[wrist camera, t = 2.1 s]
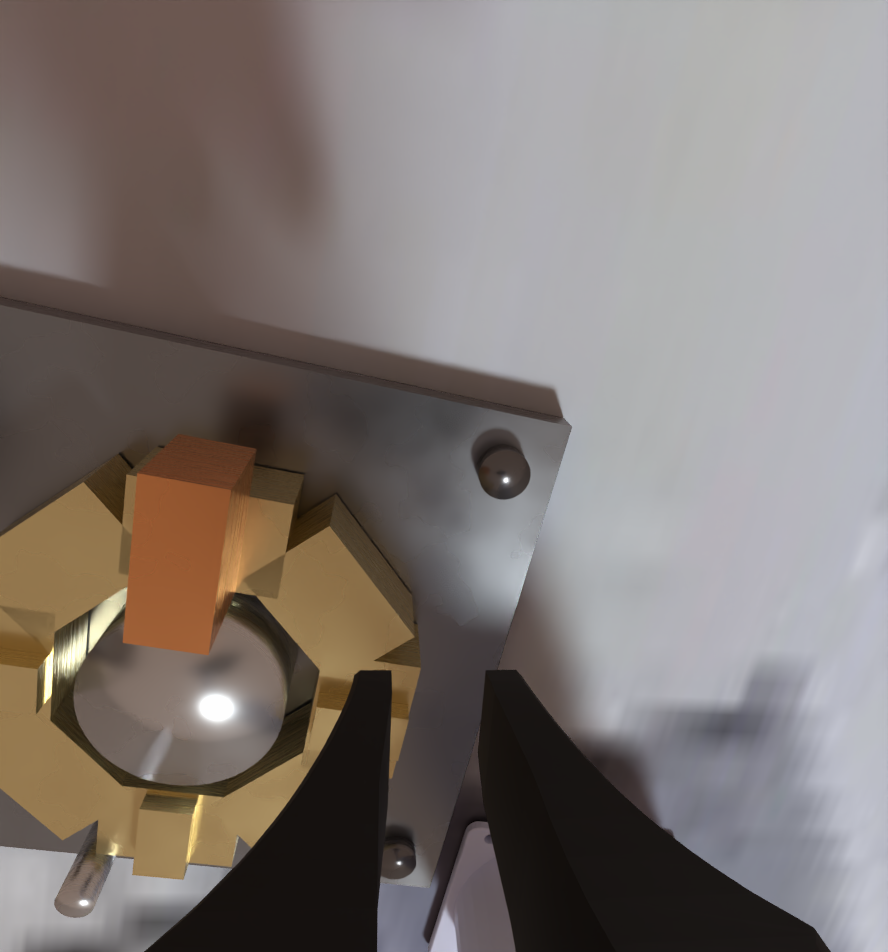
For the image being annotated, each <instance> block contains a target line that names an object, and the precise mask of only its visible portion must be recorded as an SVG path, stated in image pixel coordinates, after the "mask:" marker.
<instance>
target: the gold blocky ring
mask: <svg viewBox="0 0 888 952" xmlns="http://www.w3.org/2000/svg"><path fill="white" fill-rule="evenodd" d="M255 456H256V449H255V448H250V447H245V446H239V445H234V444H229V443H224V442H219V441H213V440H208V439H203V438H198V437H193V436H188V435H182V434H178V435H177V436H176V437H175V438H174V439H173V440H172V441H170V442H169V443H168V444H167V445H166V446H165V447H164V448H159V447H156V448H155V449H154V450H153V451H151V452H150V453H149V454H148V455H147V456H146V457H145V458H144V459H143V460H142V461H141V462H140V463H138V464H137V465H136V466H135V467H134V468H133V469H131V468H130V466H129V465H128V464H127V463H126V462H125V461H124V459H123V458H122V457H121V456H120V455H119V454H117V455H116V456H114V457H112V458H111V459H109V460H108V461H106V462H105V463H103V464H102V465H100V466H99V467H97V468H96V469H94V470H93V471H91V472H90V473H88V474H87V475H85V476H84V477H82V478H81V479H79V480H78V481H76V482H75V483H73V484H72V485H70V486H69V487H67V488H65V489H64V490H62V491H61V492H59V493H58V494H56V495H55V496H53V497H52V498H50V499H49V500H47V501H46V502H44V503H43V504H41V505H40V506H38V507H37V508H35V509H34V510H32V511H31V512H29V513H28V514H26V515H25V516H23V517H22V518H20V519H18V520H17V521H15V522H14V523H12V524H11V525H9V526H8V527H6V528H5V529H4V530H2V531H1V532H0V789H2V790H3V791H4V792H5V793H6V794H8V795H9V796H10V797H11V798H12V799H13V800H15V801H16V802H17V803H18V804H19V805H21V806H22V807H23V808H24V809H25V810H27V811H28V812H29V813H30V814H31V815H33V816H34V817H35V818H36V819H37V820H39V821H40V822H41V823H42V824H43V825H45V826H46V827H47V828H48V829H49V830H51V831H52V832H53V833H54V834H55V835H57V836H58V837H59V838H60V839H61V840H64V839H66V838H68V837H69V836H71V835H73V834H74V833H76V832H78V831H80V830H81V829H83V828H85V827H87V826H88V825H90V824H92V823H93V822H95V821H97V820H98V831H97V844H96V854H105V855H116V856H126V857H134V864H133V874H132V875H139V876H150V877H161V878H171V879H182V880H183V879H184V876H185V873H186V870H187V867H188V864H189V863H197V864H208V865H218V866H228V867H232V863H233V859H234V855H235V851H236V847H237V843H238V839H239V836H240V837H241V838H242V839H243V840H244V841H245V842H246V843H247V844H248V845H249V846H250V847H251V848H252V847H253V846H254V845H255V843H256V842H257V841H258V840H259V838H260V837H261V836H262V835H263V834H264V832H265V831H266V830H267V829H268V827H269V826H270V825H271V824H272V823H273V821H274V820H275V819H276V817H277V816H278V815H279V813H280V812H281V811H282V809H283V808H284V807H285V805H286V804H287V803H288V801H289V800H290V799H291V797H292V796H293V794H294V793H295V791H296V790H297V788H298V787H299V785H300V784H301V783H302V781H303V780H304V778H305V776H306V775H307V773H308V771H309V770H310V768H311V767H312V765H313V763H314V762H315V760H316V758H317V757H318V755H319V753H320V752H321V750H322V748H323V747H324V745H325V743H326V741H327V739H328V737H329V735H330V733H331V731H332V730H333V728H334V726H335V724H336V722H337V720H338V718H339V716H340V714H341V711H342V709H343V707H344V705H345V702H346V700H347V697H348V695H349V692H350V689H351V686H352V683H353V678H354V675H355V674H356V673H357V672H359V671H360V670H391V673H392V708H391V736H390V763H389V778H391V779H392V776H393V772H394V769H395V765H396V761H398V759H399V755H400V751H401V748H402V744H403V740H404V736H405V733H406V729H407V725H408V721H409V712H410V708H411V704H412V700H413V697H414V693H415V689H416V685H417V682H418V678H419V674H420V670H421V660H420V647H419V633H418V624H414V619H413V603H412V595H411V594H410V592H409V591H408V590H407V588H406V587H405V586H404V584H403V583H402V582H401V580H400V579H399V578H398V576H397V575H396V574H395V572H394V571H393V570H392V568H391V567H390V566H389V564H388V563H387V562H386V560H385V559H384V558H383V556H382V555H381V554H380V552H379V551H378V550H377V548H376V547H375V546H374V544H373V543H372V542H371V540H370V539H369V538H368V536H367V535H366V534H365V532H364V531H363V530H362V528H361V527H360V526H359V524H358V523H357V521H356V520H355V519H354V517H353V516H352V515H351V513H350V512H349V511H348V509H347V508H346V507H345V505H344V504H343V503H342V501H341V500H340V499H339V497H338V496H337V495H336V494H335V495H334V496H332V497H330V498H329V499H327V500H326V501H324V502H322V503H321V504H319V505H317V506H316V507H314V508H313V509H311V510H309V511H308V512H306V513H305V514H303V515H301V516H300V517H298V518H297V514H298V509H299V503H300V497H301V491H302V486H303V480H304V475H302V474H297V473H292V472H286V471H281V470H276V469H271V468H265V467H260V466H255V465H254V463H255ZM125 587H127V598H126V609H125V621H124V632H123V643H127V644H134V645H141V646H148V647H155V648H161V649H168V650H175V651H182V652H189V653H196V654H203V655H209V653H210V650H211V648H212V646H213V643H214V641H215V639H216V636H217V634H218V632H219V629H220V627H221V625H222V622H223V620H224V618H225V615H226V613H227V611H228V608H229V606H230V604H231V601H232V599H233V597H234V594H235V592H236V593H243V594H249V595H255V596H257V598H258V599H259V600H260V601H261V602H262V603H263V605H264V606H265V607H266V608H267V609H268V610H269V612H270V613H271V614H272V615H273V616H274V617H275V619H276V620H277V621H278V622H279V623H280V624H281V626H282V627H283V628H284V629H285V630H286V631H287V633H288V634H289V635H290V636H291V637H292V638H293V640H294V641H295V642H296V643H297V644H298V645H299V647H300V648H301V649H302V650H303V651H304V652H305V654H306V655H307V656H308V657H309V658H310V659H311V661H312V662H313V663H314V664H315V665H316V666H317V668H318V673H317V678H316V683H315V688H314V693H313V698H312V702H311V703H309V704H307V705H306V706H304V707H302V708H300V709H299V710H297V711H295V712H294V713H292V714H290V715H288V716H287V717H285V718H283V722H282V726H281V730H280V732H279V734H278V737H277V739H276V741H275V742H274V744H273V745H272V747H271V748H270V750H269V751H268V752H267V753H266V754H265V755H264V756H263V757H262V758H261V759H260V760H259V761H258V762H257V763H255V764H254V765H253V766H251V767H250V768H248V769H247V770H245V771H244V772H241V773H239V774H237V775H235V776H233V777H231V778H228V779H225V780H222V781H218V782H214V783H210V784H202V785H189V786H182V785H169V784H163V783H157V782H154V781H150V780H146V779H143V778H140V777H138V776H135V775H133V774H131V773H129V772H127V771H125V770H123V769H121V768H119V767H118V766H116V765H115V764H113V763H111V762H110V761H109V760H108V759H106V758H105V757H104V756H103V755H101V754H100V753H99V752H98V751H97V749H96V748H95V747H94V746H93V745H92V744H91V743H90V741H89V740H88V739H87V737H86V736H85V734H84V732H83V730H82V729H81V727H80V725H79V722H78V719H77V717H76V713H75V708H74V698H73V691H74V685H75V680H76V677H77V674H78V671H79V669H80V667H81V665H82V663H83V661H84V660H85V658H86V643H87V628H88V613H89V610H90V609H92V608H94V607H95V606H97V605H98V604H100V603H101V602H103V601H105V600H106V599H108V598H109V597H111V596H113V595H114V594H116V593H117V592H119V591H121V590H122V589H124V588H125Z"/></svg>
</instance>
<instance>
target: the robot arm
mask: <svg viewBox="0 0 888 952" xmlns="http://www.w3.org/2000/svg"><path fill="white" fill-rule="evenodd" d="M391 708H392V673H391V670H360V671H359V672H357V673H356V674H355V675H354V678H353V683H352V686H351V689H350V692H349V695H348V697H347V700H346V702H345V705H344V707H343V709H342V711H341V714H340V716H339V718H338V720H337V722H336V724H335V726H334V728H333V730H332V731H331V733H330V735H329V737H328V739H327V741H326V743H325V745H324V747H323V748H322V750H321V752H320V753H319V755H318V757H317V758H316V760H315V762H314V763H313V765H312V767H311V768H310V770H309V771H308V773H307V775H306V776H305V778H304V780H303V781H302V783H301V784H300V785H299V787H298V788H297V790H296V791H295V793H294V794H293V796H292V797H291V799H290V800H289V801H288V803H287V804H286V805H285V807H284V808H283V809H282V811H281V812H280V813H279V815H278V816H277V817H276V819H275V820H274V821H273V823H272V824H271V825H270V826H269V827H268V829H267V830H266V831H265V832H264V834H263V835H262V836H261V837H260V838H259V840H258V841H257V842H256V843H255V845H254V846H253V847H252V848H251V849H250V850H249V851H248V853H247V854H246V855H245V856H244V857H243V858H242V859H241V861H240V862H239V863H238V864H237V865H236V866H235V867H234V868H233V869H232V870H231V871H230V872H229V873H228V874H227V875H226V876H225V877H224V878H223V879H222V880H221V881H220V882H219V883H218V884H217V885H216V886H215V887H214V888H213V889H212V890H211V891H210V893H209V894H208V895H207V896H206V897H205V898H204V899H203V900H202V901H201V902H200V903H199V904H198V905H196V906H195V907H194V908H193V909H192V910H191V911H190V912H189V913H188V914H187V915H186V916H185V917H183V918H182V919H181V920H180V921H179V922H178V923H177V924H175V925H174V926H173V927H172V928H171V929H170V930H169V931H167V932H166V933H165V934H164V935H163V936H162V937H161V938H159V939H158V940H157V941H156V942H155V943H154V944H153V945H151V946H150V947H149V948H148V949H147V950H146V951H144V952H377V908H378V898H379V888H380V878H381V869H382V859H383V849H384V839H385V829H386V820H387V810H388V791H389V763H390V736H391ZM478 758H479V768H480V777H481V786H482V795H483V803H484V808H485V812H486V817H487V821H488V822H481V821H476V822H473V823H471V824H470V825H468V827H467V828H466V830H465V834H464V837H463V840H462V843H461V846H460V849H459V852H458V855H457V858H456V862H455V865H454V868H453V871H452V874H451V877H450V880H449V883H448V887H447V890H446V893H445V896H444V899H443V902H442V905H441V908H440V911H439V915H438V918H437V921H436V924H435V927H434V930H433V933H432V936H431V940H430V943H429V946H428V952H831V951H830V950H829V949H828V947H827V946H826V944H825V943H824V942H823V940H822V939H821V937H820V936H819V934H818V933H817V931H816V930H815V929H814V928H813V927H812V926H810V925H808V924H807V923H805V922H803V921H801V920H800V919H798V918H796V917H794V916H793V915H791V914H789V913H787V912H786V911H784V910H782V909H780V908H779V907H777V906H775V905H773V904H772V903H770V902H768V901H766V900H765V899H763V898H761V897H759V896H758V895H756V894H754V893H752V892H751V891H749V890H748V889H746V888H744V887H743V886H741V885H740V884H738V883H737V882H735V881H734V880H732V879H731V878H729V877H728V876H726V875H725V874H723V873H722V872H720V871H719V870H717V869H716V868H714V867H713V866H711V865H710V864H708V863H707V862H706V861H704V860H703V859H701V858H700V857H698V856H697V855H696V854H694V853H693V852H691V851H690V850H689V849H687V848H686V847H685V846H684V845H682V844H681V843H680V842H678V841H677V840H676V839H674V838H673V837H672V836H671V835H669V834H668V833H667V832H665V831H664V830H663V829H661V828H660V827H659V826H658V825H657V824H655V823H654V822H653V821H652V820H651V819H649V818H648V817H647V816H646V815H645V814H643V813H642V812H641V811H640V810H639V809H638V808H637V807H636V806H634V805H633V804H632V803H631V802H630V801H629V800H628V799H627V798H626V797H624V796H623V795H622V794H621V793H620V792H619V791H618V790H617V789H616V788H615V787H614V786H613V785H612V784H611V783H610V782H609V781H608V780H607V779H606V778H605V777H604V776H603V775H602V774H601V773H600V772H599V771H598V770H597V769H596V768H595V767H594V765H593V764H592V763H591V762H590V761H589V760H588V759H587V758H586V757H585V756H584V755H583V753H582V752H581V751H580V750H579V749H578V748H577V747H576V745H575V744H574V743H573V742H572V741H571V740H570V738H569V737H568V736H567V735H566V734H565V732H564V731H563V730H562V729H561V728H560V726H559V725H558V724H557V723H556V721H555V720H554V719H553V718H552V716H551V715H550V714H549V713H548V711H547V710H546V709H545V707H544V706H543V705H542V703H541V702H540V701H539V699H538V698H537V697H536V695H535V694H534V693H533V691H532V690H531V689H530V687H529V686H528V684H527V683H526V682H525V680H524V679H523V678H522V676H521V675H520V674H519V673H518V672H517V671H516V670H486V672H485V682H484V693H483V704H482V714H481V725H480V736H479V746H478ZM487 835H490V836H487Z"/></svg>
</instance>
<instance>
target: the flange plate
mask: <svg viewBox="0 0 888 952" xmlns="http://www.w3.org/2000/svg"><path fill="white" fill-rule="evenodd" d="M571 428H572V426H571V425H570V424H569V423H568V422H567V421H566V420H565V419H564V418H560V417H555V416H551V415H546V414H542V413H537V412H532V411H528V410H523V409H518V408H514V407H509V406H504V405H500V404H495V403H490V402H486V401H481V400H476V399H472V398H467V397H462V396H458V395H453V394H448V393H444V392H439V391H434V390H430V389H425V388H420V387H416V386H411V385H406V384H402V383H397V382H392V381H388V380H383V379H378V378H374V377H369V376H364V375H360V374H355V373H351V372H346V371H341V370H337V369H332V368H327V367H323V366H318V365H313V364H309V363H304V362H299V361H295V360H290V359H285V358H281V357H276V356H271V355H267V354H262V353H257V352H253V351H248V350H243V349H239V348H234V347H229V346H225V345H220V344H215V343H211V342H206V341H201V340H197V339H192V338H187V337H183V336H178V335H173V334H169V333H164V332H160V331H155V330H150V329H146V328H141V327H136V326H132V325H127V324H122V323H118V322H113V321H108V320H104V319H99V318H94V317H90V316H85V315H80V314H76V313H71V312H66V311H62V310H57V309H52V308H48V307H43V306H38V305H34V304H29V303H24V302H20V301H15V300H10V299H6V298H1V297H0V532H1V531H2V530H4V529H5V528H6V527H8V526H9V525H11V524H12V523H14V522H15V521H17V520H18V519H20V518H22V517H23V516H25V515H26V514H28V513H29V512H31V511H32V510H34V509H35V508H37V507H38V506H40V505H41V504H43V503H44V502H46V501H47V500H49V499H50V498H52V497H53V496H55V495H56V494H58V493H59V492H61V491H62V490H64V489H65V488H67V487H69V486H70V485H72V484H73V483H75V482H76V481H78V480H79V479H81V478H82V477H84V476H85V475H87V474H88V473H90V472H91V471H93V470H94V469H96V468H97V467H99V466H100V465H102V464H103V463H105V462H106V461H108V460H109V459H111V458H112V457H114V456H116V455H117V454H119V455H120V456H121V457H122V458H123V459H124V461H125V462H126V463H127V464H128V465H129V466H130V468H131V469H133V468H134V467H135V466H136V465H137V464H138V463H140V462H141V461H142V460H143V459H144V458H145V457H146V456H147V455H148V454H149V453H150V452H151V451H153V450H154V449H155V448H156V447H159V448H164V447H165V446H166V445H167V444H168V443H169V442H170V441H172V440H173V439H174V438H175V437H176V436H177V435H178V434H182V435H188V436H193V437H198V438H203V439H208V440H213V441H219V442H224V443H229V444H234V445H239V446H245V447H250V448H255V449H256V456H255V463H254V465H255V466H260V467H265V468H271V469H276V470H281V471H286V472H292V473H297V474H302V475H304V480H303V486H302V491H301V497H300V503H299V509H298V514H297V518H298V517H300V516H301V515H303V514H305V513H306V512H308V511H309V510H311V509H313V508H314V507H316V506H317V505H319V504H321V503H322V502H324V501H326V500H327V499H329V498H330V497H332V496H334V495H335V494H336V495H337V496H338V497H339V499H340V500H341V501H342V503H343V504H344V505H345V507H346V508H347V509H348V511H349V512H350V513H351V515H352V516H353V517H354V519H355V520H356V521H357V523H358V524H359V526H360V527H361V528H362V530H363V531H364V532H365V534H366V535H367V536H368V538H369V539H370V540H371V542H372V543H373V544H374V546H375V547H376V548H377V550H378V551H379V552H380V554H381V555H382V556H383V558H384V559H385V560H386V562H387V563H388V564H389V566H390V567H391V568H392V570H393V571H394V572H395V574H396V575H397V576H398V578H399V579H400V580H401V582H402V583H403V584H404V586H405V587H406V588H407V590H408V591H409V592H410V594H411V595H412V603H413V619H414V624H418V633H419V647H420V660H421V670H420V674H419V678H418V682H417V685H416V689H415V693H414V697H413V700H412V704H411V708H410V712H409V721H408V725H407V729H406V733H405V736H404V740H403V744H402V748H401V751H400V755H399V759H398V761H396V765H395V769H394V772H393V776H392V779H391V778H389V791H388V810H387V820H386V829H385V839H384V849H383V859H382V869H381V878H380V883H385V884H396V885H406V886H416V887H426V888H430V885H431V882H432V879H433V875H434V872H435V869H436V866H437V862H438V859H439V856H440V853H441V849H442V846H443V843H444V840H445V836H446V833H447V830H448V827H449V823H450V820H451V817H452V814H453V811H454V807H455V804H456V801H457V798H458V794H459V791H460V788H461V785H462V781H463V778H464V775H465V772H466V768H467V765H468V762H469V759H470V755H471V752H472V749H473V746H474V743H475V739H476V736H477V733H478V730H479V726H480V723H481V714H482V704H483V693H484V682H485V672H486V670H497V668H498V665H499V662H500V658H501V655H502V652H503V649H504V645H505V642H506V639H507V636H508V632H509V629H510V626H511V623H512V619H513V616H514V613H515V610H516V607H517V603H518V600H519V597H520V594H521V590H522V587H523V584H524V581H525V577H526V574H527V571H528V568H529V564H530V561H531V558H532V555H533V552H534V548H535V545H536V542H537V539H538V535H539V532H540V529H541V526H542V522H543V519H544V516H545V513H546V509H547V506H548V503H549V500H550V496H551V493H552V490H553V487H554V484H555V480H556V477H557V474H558V471H559V467H560V464H561V461H562V458H563V454H564V451H565V448H566V445H567V441H568V438H569V435H570V432H571ZM126 598H127V587H125V588H124V589H122V590H121V591H119V592H117V593H116V594H114V595H113V596H111V597H109V598H108V599H106V600H105V601H103V602H101V603H100V604H98V605H97V606H95V607H94V608H92V609H90V610H89V613H88V628H87V643H86V658H85V660H84V661H83V663H82V665H81V667H80V669H79V671H78V674H77V677H76V680H75V685H74V691H73V698H74V708H75V713H76V717H77V719H78V722H79V725H80V727H81V729H82V730H83V732H84V734H85V736H86V737H87V739H88V740H89V741H90V743H91V744H92V745H93V746H94V747H95V748H96V749H97V751H98V752H99V753H100V754H101V755H103V756H104V757H105V758H106V759H108V760H109V761H110V762H111V763H113V764H115V765H116V766H118V767H119V768H121V769H123V770H125V771H127V772H129V773H131V774H133V775H135V776H138V777H140V778H143V779H146V780H150V781H154V782H157V783H163V784H169V785H182V786H189V785H202V784H210V783H214V782H218V781H222V780H225V779H228V778H231V777H233V776H235V775H237V774H239V773H241V772H244V771H245V770H247V769H248V768H250V767H251V766H253V765H254V764H255V763H257V762H258V761H259V760H260V759H261V758H262V757H263V756H264V755H265V754H266V753H267V752H268V751H269V750H270V748H271V747H272V745H273V744H274V742H275V741H276V739H277V737H278V734H279V732H280V730H281V726H282V722H283V718H285V717H287V716H288V715H290V714H292V713H294V712H295V711H297V710H299V709H300V708H302V707H304V706H306V705H307V704H309V703H311V702H312V698H313V693H314V688H315V683H316V678H317V673H318V668H317V666H316V665H315V664H314V663H313V662H312V661H311V659H310V658H309V657H308V656H307V655H306V654H305V652H304V651H303V650H302V649H301V648H300V647H299V645H298V644H297V643H296V642H295V641H294V640H293V638H292V637H291V636H290V635H289V634H288V633H287V631H286V630H285V629H284V628H283V627H282V626H281V624H280V623H279V622H278V621H277V620H276V619H275V617H274V616H273V615H272V614H271V613H270V612H269V610H268V609H267V608H266V607H265V606H264V605H263V603H262V602H261V601H260V600H259V599H258V598H257V596H255V595H249V594H243V593H236V592H235V594H234V597H233V599H232V601H231V604H230V606H229V608H228V611H227V613H226V615H225V618H224V620H223V622H222V625H221V627H220V629H219V632H218V634H217V636H216V639H215V641H214V643H213V646H212V648H211V650H210V653H209V655H203V654H196V653H189V652H182V651H175V650H168V649H161V648H155V647H148V646H141V645H134V644H127V643H123V632H124V621H125V609H126ZM97 831H98V820H97V821H95V822H93V823H92V824H90V825H88V826H87V827H85V828H83V829H81V830H80V831H78V832H76V833H74V834H73V835H71V836H69V837H68V838H66V839H64V840H61V839H60V838H59V837H58V836H57V835H55V834H54V833H53V832H52V831H51V830H49V829H48V828H47V827H46V826H45V825H43V824H42V823H41V822H40V821H39V820H37V819H36V818H35V817H34V816H33V815H31V814H30V813H29V812H28V811H27V810H25V809H24V808H23V807H22V806H21V805H19V804H18V803H17V802H16V801H15V800H13V799H12V798H11V797H10V796H9V795H8V794H6V793H5V792H4V791H3V790H2V789H0V846H5V847H16V848H26V849H36V850H46V851H57V852H67V853H77V854H78V855H77V857H76V859H75V861H74V863H73V865H72V867H71V869H70V871H69V873H68V875H67V877H66V879H65V881H64V883H63V885H62V887H61V889H60V891H59V893H58V895H57V897H56V899H55V902H54V905H55V908H56V909H57V910H58V911H59V912H60V913H61V914H63V915H65V916H68V917H74V918H77V917H83V916H86V915H88V914H89V913H91V911H92V910H93V908H94V906H95V903H96V901H97V899H98V897H99V894H100V892H101V890H102V887H103V885H104V883H105V881H106V878H107V876H108V874H109V872H110V869H111V867H112V865H113V862H114V860H115V858H116V857H118V858H129V859H134V857H126V856H116V855H105V854H96V844H97ZM250 849H251V847H250V846H249V845H248V844H247V843H246V842H245V841H244V840H243V839H242V838H241V837H240V836H239V839H238V843H237V847H236V851H235V855H234V859H233V863H232V867H228V866H218V865H208V864H197V863H189V864H190V865H200V866H211V867H221V868H231V869H233V868H234V867H235V866H236V865H237V864H238V863H239V862H240V861H241V859H242V858H243V857H244V856H245V855H246V854H247V853H248V851H249V850H250Z"/></svg>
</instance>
